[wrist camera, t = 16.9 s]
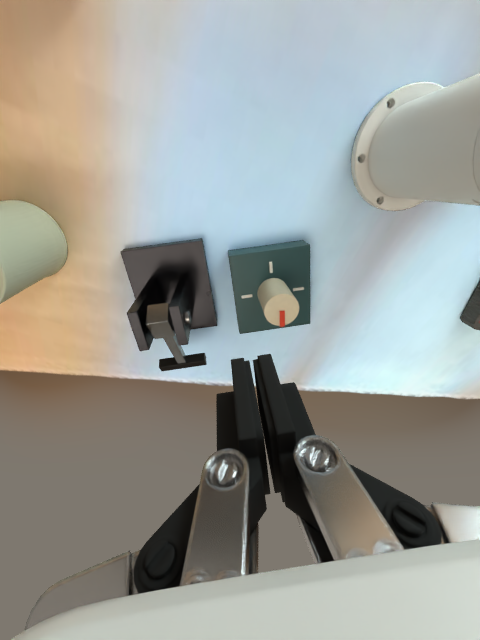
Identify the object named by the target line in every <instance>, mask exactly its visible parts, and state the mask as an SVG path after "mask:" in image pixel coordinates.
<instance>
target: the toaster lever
mask: <svg viewBox="0 0 480 640" xmlns="http://www.w3.org/2000/svg"><path fill="white" fill-rule="evenodd" d="M168 307H169V303H162V304H155V305H148V306H147V316H146V325H147V327H148V329H149V330H150V332H151V334H152V335H153V337H154V338H155V339H158V338H164V340H165V342H166V344H167V345H168V347H169V349H170V351H171V352H172V354H173V356H174V357H173V358H166V359H160V360H159V368H160V369H161V371H167V370H174V369H181V368H187V367H194V366H201V365H206V356H205V353H200V354H193V355H185V353H184V351H183V349H182V347H181V345H178V342H177V338H176V335H175V330H174V326H173V323H172V319H171V315H170V311H169V308H168Z"/></svg>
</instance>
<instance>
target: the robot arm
mask: <svg viewBox="0 0 480 640" xmlns="http://www.w3.org/2000/svg"><path fill="white" fill-rule="evenodd" d="M387 103H388V107H387ZM358 157H360V160H359V161H358ZM351 171H352V177H353V181H354V185H355V187H356V189H357V191H358V193H359V194H360V195H361V197H362V198H363V199H364V200H365V201H366V202H367V203H369V204H370V205H371V206H374V207H376V208H378V209H382V210H387V211H399V210H406V209H408V208H411V207H414V206H416V205H418V204H420V203H422V202H424V201H425V200H427V201H437V202H447V203H458V204H468V205H478V206H480V73H479V74H477V75H474V76H472V77H469V78H467V79H464V80H462V81H459V82H457V83H454V84H452V85H449V86H447V87H442V86H441V85H439V84H435V83H431V82H416V83H412V84H408V85H405V86H403V87H401V88H398V89H396V90H395V91H393V92H391V93H390V94H388V95H386V96H385V97H384V98H383V99H382V100H381V101H379V102H378V103H377V104H376V105H375V106H374V108H373V109H372V110H371V111H370V112H369V114H368V115H367V116H366V118H365V120H364V121H363V123H362V125H361V126H360V129H359V131H358V133H357V136H356V138H355V142H354V146H353V150H352V158H351ZM377 199H378V201H377ZM253 364H254V372H255V381H256V389H257V397H258V404H257V399H256V394H255V388H254V383H253V378H252V373H251V368H250V362H249V361H244V358H239V359H232V360H231V366H232V377H233V388H234V391H233V392H226V393H220V394H217V452H215V453H213V454H212V455H211V456H210V457H209V458H208V459H207V461H206V462H205V464H204V467H203V470H202V475H201V481H200V484H199V485H198V486H197V487H196V489H195V490H194V491H193V492H192V493H191V494H190V495H189V496H188V497H187V498H186V500H185V501H184V502H183V503H182V504H181V505H180V506H179V507H178V509H176V510H175V512H174V513H173V514H172V515H171V516H170V517H169V518H168V519H167V520H166V521H165V522H164V523H163V525H162V526H161V527H160V528H159V529H158V530H157V531H156V532H155V533H154V534H153V536H152V537H151V538H150V539H149V540H148V541H147V542H146V544H145V545H144V546H143V548H142V549H141V550H139V551H137V552H135V553H132V554H131V552H130V551H128V552H126V553H123V554H121V555H119V556H116V557H114V558H111V559H109V560H107V561H104V562H102V563H100V564H97V565H95V566H93V567H90V568H88V569H86V570H84V571H81V572H79V573H77V574H74V575H72V576H69V577H67V578H65V579H63V580H60V581H59V582H57V583H55V584H54V585H52V586H51V587H49V588H48V589H47V591H45V592H44V594H43V595H41V596H40V598H39V599H38V601H37V602H36V604H35V606H34V607H33V609H32V610H31V613H30V615H29V618H28V621H27V623H26V627H25V631H24V632H22V633H20V634H18V635H17V636H16V637H14V638H13V639H11V640H480V507H478V506H467V505H456V504H445V503H433V502H432V505H431V506H428V505H422V504H421V503H420V502H418V501H416V500H415V499H413V498H412V497H410V496H408V495H406V494H404V493H402V492H400V491H398V490H396V489H394V488H393V487H391V486H389V485H387V484H386V483H384V482H382V481H380V480H378V479H376V478H374V477H372V476H371V475H369V474H367V473H365V472H363V471H361V470H359V469H358V468H356V467H354V466H352V465H350V464H349V463H348V462H347V460H346V459H345V457H344V456H343V454H342V452H341V451H340V449H339V448H338V447H337V446H336V445H335V443H334V442H332V441H331V440H329V439H328V438H325V437H322V436H316V435H315V432H314V430H313V427H312V424H311V422H310V420H309V417H308V415H307V412H306V409H305V407H304V404H303V402H302V399H301V397H300V394H299V392H298V389H297V387H296V384H295V383H294V382H293V383H286V384H280V382H279V379H278V375H277V372H276V369H275V366H274V363H273V360H272V357H271V354H266V355H260V356H258V359H256V360H253ZM258 406H259V409H258ZM259 413H260V414H259ZM260 418H261V420H260ZM261 423H262V425H261ZM262 429H263V430H262ZM263 434H264V436H263ZM264 439H265V444H266V449H267V454H268V460H269V465H270V469H271V475H272V479H273V485H274V491H275V493H279V492H281V496H282V500H283V502H285V505H286V507H287V508H289V509H290V510H292V511H293V512H294V513H296V515H297V519H298V522H299V525H300V527H301V530H302V532H303V535H304V537H305V540H306V542H307V545H308V548H309V550H310V553H311V555H312V558H313V560H314V563H315V564H313V565H306V566H300V567H295V568H288V569H282V570H276V571H269V572H264V573H258V542H259V541H258V540H259V539H258V537H259V536H258V535H259V527H258V521H259V520H260V518H261V517H262V515H263V514H264V512H265V511H266V509H267V508H266V501H265V495H266V494H270V487H269V478H268V470H267V461H266V452H265V445H264Z"/></svg>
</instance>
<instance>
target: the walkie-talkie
mask: <svg viewBox="0 0 480 640" xmlns="http://www.w3.org/2000/svg"><path fill="white" fill-rule="evenodd" d="M460 318H461V321H462V322H464V323H465V324H467V325H469V326H471V327H472V328H474V329H476V330H480V282H479V284H478V286H477V288H476V290H475V291H474V293H473V295H472V297H471V299H470V301H469V303H468V304H467V306H466V308H465V310H464V312H463V314H462V316H461V317H460Z"/></svg>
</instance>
